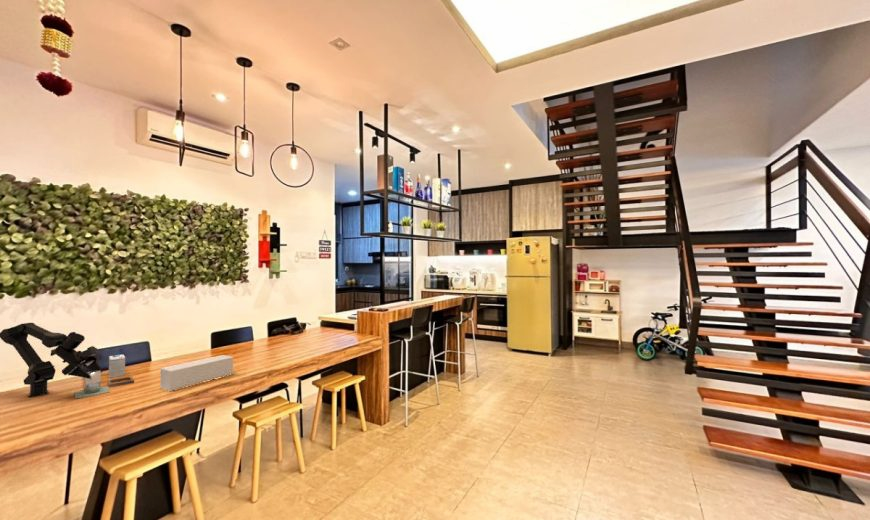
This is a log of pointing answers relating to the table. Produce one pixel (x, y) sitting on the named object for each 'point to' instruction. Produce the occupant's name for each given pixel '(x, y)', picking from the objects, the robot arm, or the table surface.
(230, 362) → the long grey concrete block
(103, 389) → the mat
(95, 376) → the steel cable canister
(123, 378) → the walnut collar
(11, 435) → the table surface
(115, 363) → the grey boxy fixture
